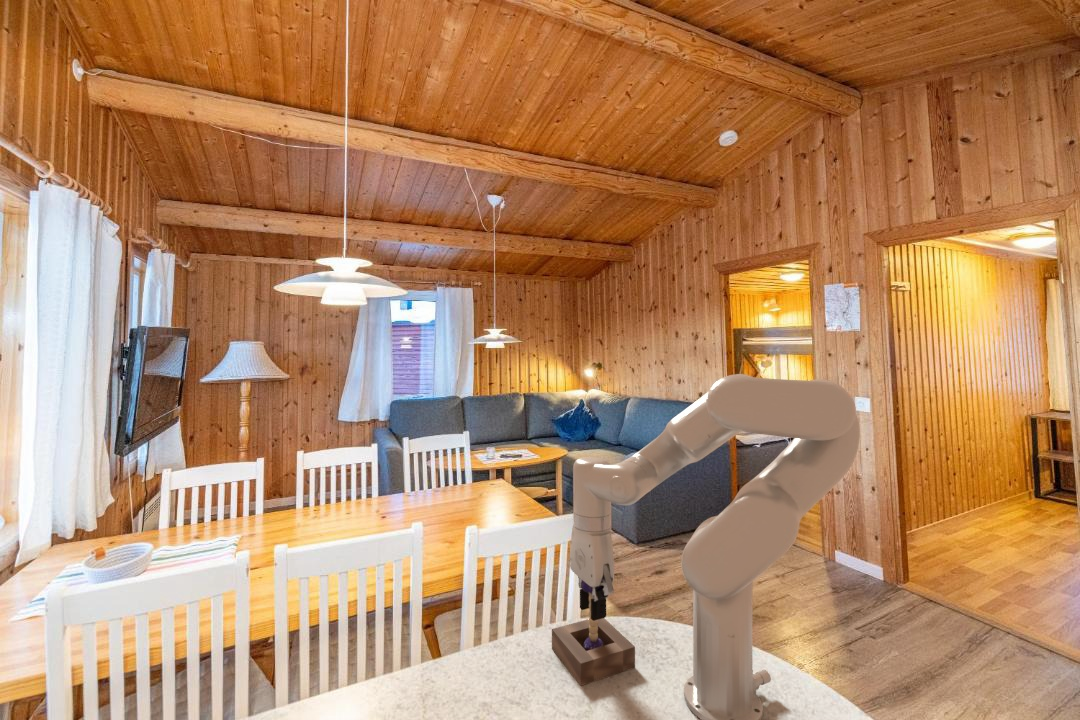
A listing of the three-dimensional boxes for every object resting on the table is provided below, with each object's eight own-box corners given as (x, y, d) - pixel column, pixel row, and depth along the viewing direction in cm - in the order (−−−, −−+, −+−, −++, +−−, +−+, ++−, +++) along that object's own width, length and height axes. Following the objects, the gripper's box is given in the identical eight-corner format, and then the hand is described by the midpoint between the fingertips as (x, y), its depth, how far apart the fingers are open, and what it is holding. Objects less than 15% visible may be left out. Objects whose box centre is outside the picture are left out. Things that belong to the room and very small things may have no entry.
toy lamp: (603, 658, 90) (603, 574, 89) (579, 655, 91) (579, 571, 90) (605, 643, 94) (605, 562, 94) (582, 640, 95) (582, 560, 95)
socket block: (601, 634, 100) (601, 615, 100) (635, 667, 89) (635, 646, 89) (551, 648, 95) (551, 629, 95) (580, 685, 84) (580, 663, 84)
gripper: (556, 511, 98) (557, 598, 98) (598, 537, 83) (598, 640, 83) (587, 506, 101) (588, 590, 101) (632, 531, 86) (633, 630, 86)
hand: (592, 612), depth 92 cm, fingers closed on toy lamp, 3 cm apart
